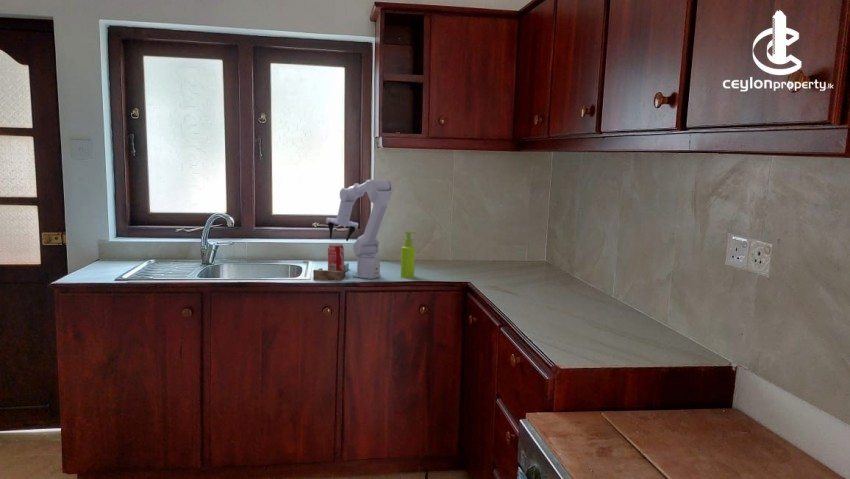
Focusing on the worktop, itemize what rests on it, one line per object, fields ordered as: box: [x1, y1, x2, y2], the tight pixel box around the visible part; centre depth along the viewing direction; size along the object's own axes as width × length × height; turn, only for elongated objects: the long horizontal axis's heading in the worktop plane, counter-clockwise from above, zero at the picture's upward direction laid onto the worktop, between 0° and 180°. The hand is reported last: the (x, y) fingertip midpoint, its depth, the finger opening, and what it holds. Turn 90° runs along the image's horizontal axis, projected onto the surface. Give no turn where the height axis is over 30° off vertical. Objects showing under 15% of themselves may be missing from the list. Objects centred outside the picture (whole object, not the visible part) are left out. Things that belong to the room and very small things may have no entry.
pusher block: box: [344, 262, 350, 272], centre depth 269 cm, size 7×6×3 cm
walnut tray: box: [312, 267, 347, 282], centre depth 250 cm, size 11×10×4 cm
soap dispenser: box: [400, 230, 419, 279], centre depth 257 cm, size 6×7×20 cm
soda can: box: [327, 243, 345, 271], centre depth 260 cm, size 7×7×13 cm
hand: (338, 238), depth 273 cm, fingers open, 7 cm apart
